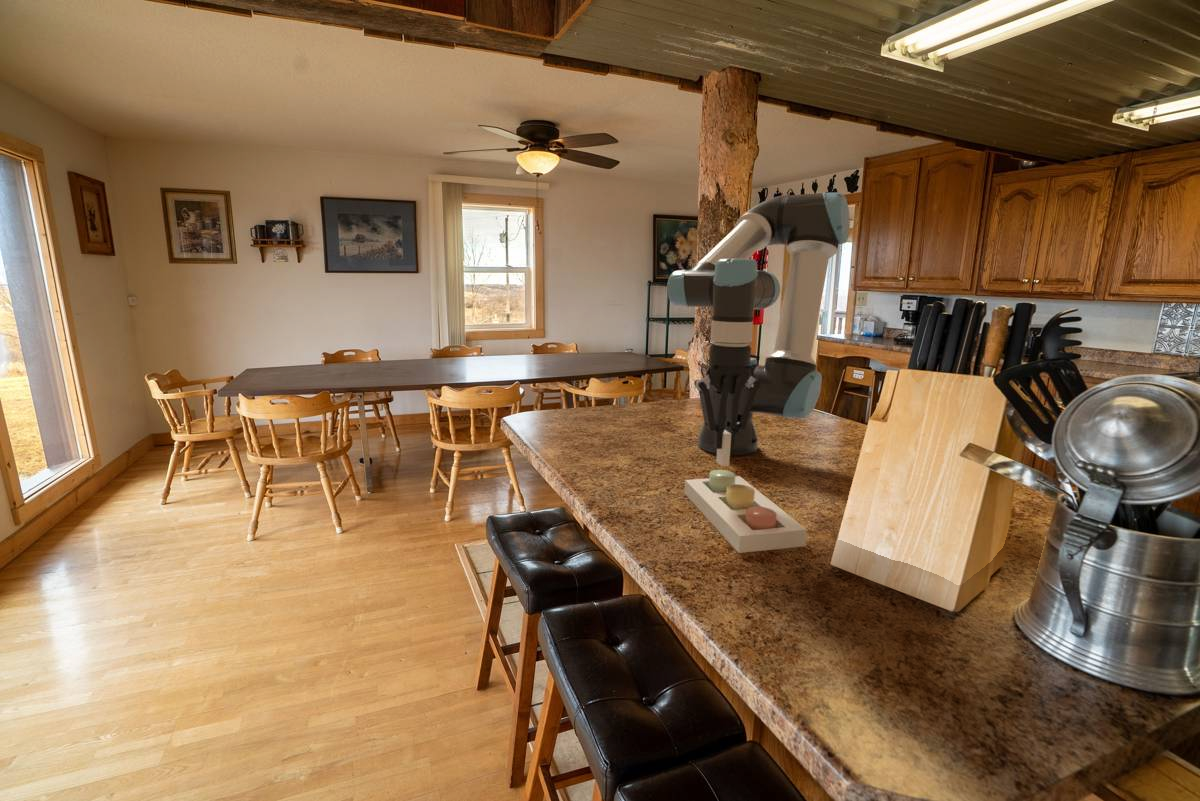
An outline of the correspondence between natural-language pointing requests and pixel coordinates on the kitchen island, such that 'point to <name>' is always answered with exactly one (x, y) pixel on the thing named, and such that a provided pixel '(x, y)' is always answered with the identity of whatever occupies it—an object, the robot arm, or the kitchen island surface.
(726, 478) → the sage button
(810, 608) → the kitchen island surface
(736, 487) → the ochre button
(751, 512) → the brick button
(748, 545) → the panel
